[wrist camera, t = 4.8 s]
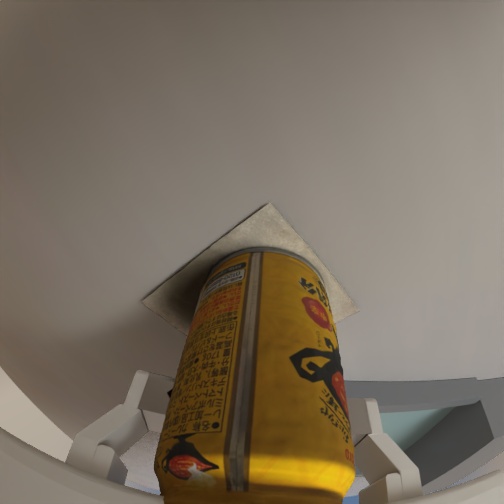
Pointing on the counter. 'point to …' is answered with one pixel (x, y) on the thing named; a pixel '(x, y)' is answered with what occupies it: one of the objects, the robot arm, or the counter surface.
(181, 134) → the counter surface
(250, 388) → the condiment
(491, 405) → the teal-floored tray
